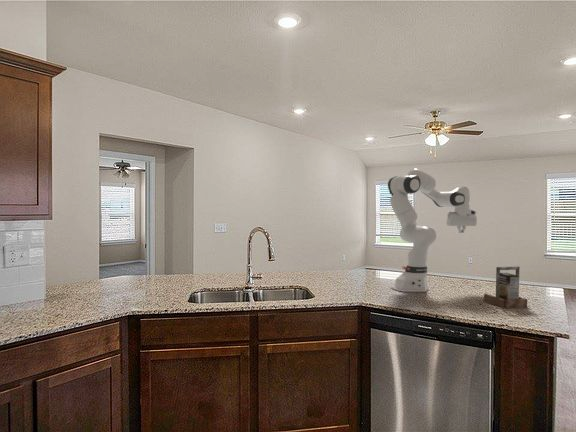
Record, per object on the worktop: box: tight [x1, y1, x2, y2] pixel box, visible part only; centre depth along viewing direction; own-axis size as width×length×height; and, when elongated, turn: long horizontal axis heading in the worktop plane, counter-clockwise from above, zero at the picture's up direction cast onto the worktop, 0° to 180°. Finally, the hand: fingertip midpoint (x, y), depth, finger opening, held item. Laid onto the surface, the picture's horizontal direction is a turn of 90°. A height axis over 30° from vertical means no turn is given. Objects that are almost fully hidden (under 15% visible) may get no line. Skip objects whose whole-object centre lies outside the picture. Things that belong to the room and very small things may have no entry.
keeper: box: [483, 266, 528, 309], centre depth 215 cm, size 13×15×20 cm
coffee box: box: [499, 272, 520, 300], centre depth 215 cm, size 9×6×16 cm
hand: (461, 232), depth 265 cm, fingers closed
